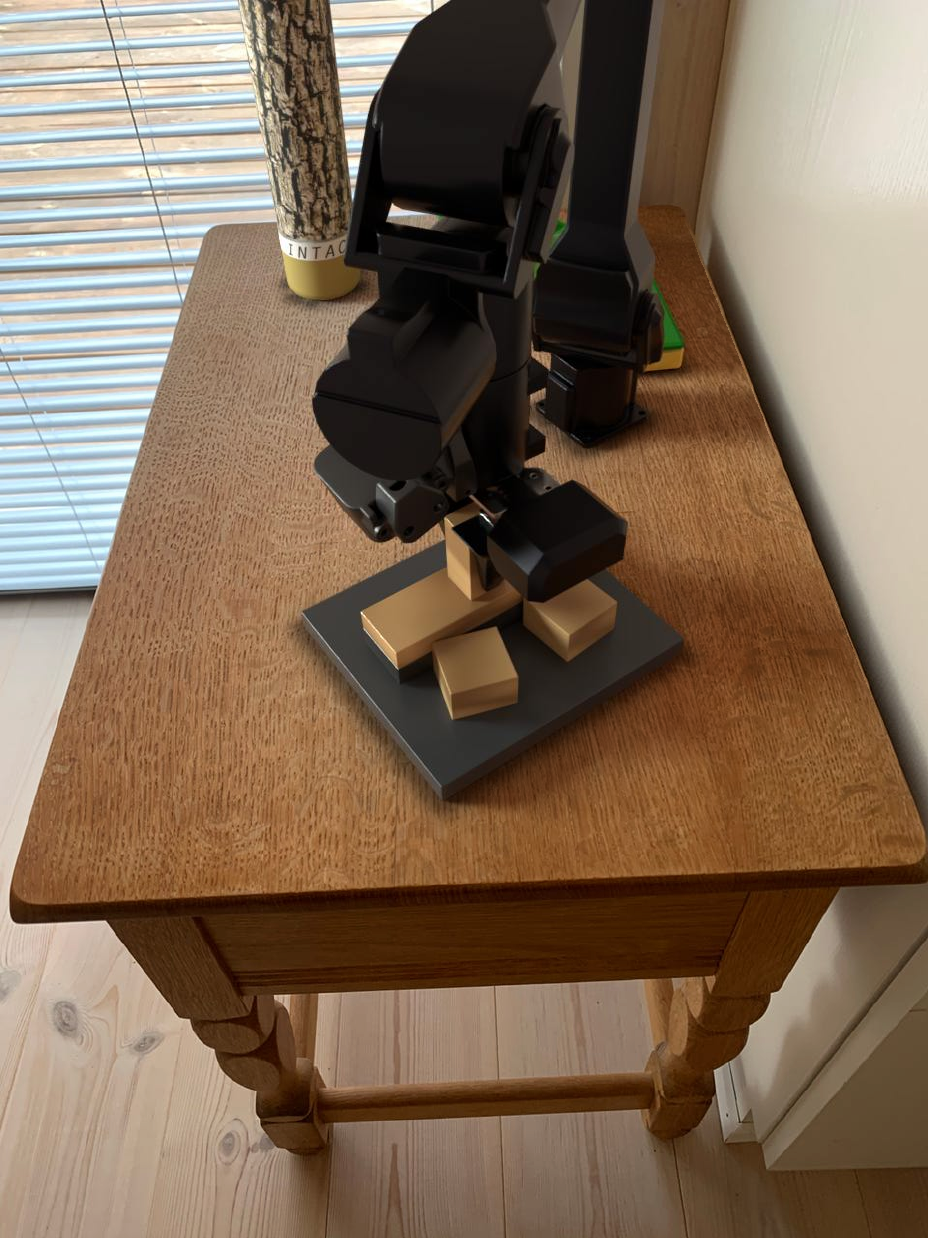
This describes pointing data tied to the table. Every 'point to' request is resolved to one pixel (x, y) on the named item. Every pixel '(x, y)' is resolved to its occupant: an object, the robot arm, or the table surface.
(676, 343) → the dish sponge
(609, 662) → the serving board
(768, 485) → the table surface
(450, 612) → the brush
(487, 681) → the cork piece
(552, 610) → the cork piece
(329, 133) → the paper tube
